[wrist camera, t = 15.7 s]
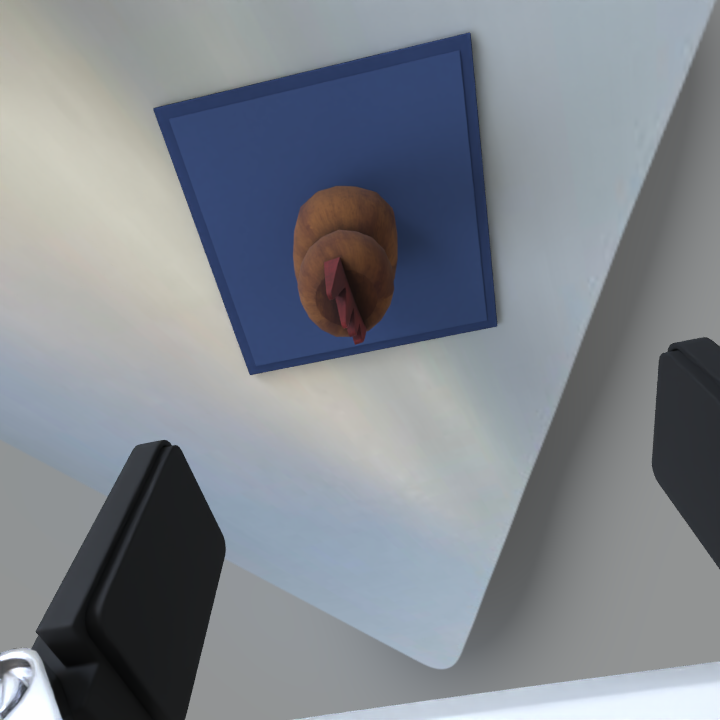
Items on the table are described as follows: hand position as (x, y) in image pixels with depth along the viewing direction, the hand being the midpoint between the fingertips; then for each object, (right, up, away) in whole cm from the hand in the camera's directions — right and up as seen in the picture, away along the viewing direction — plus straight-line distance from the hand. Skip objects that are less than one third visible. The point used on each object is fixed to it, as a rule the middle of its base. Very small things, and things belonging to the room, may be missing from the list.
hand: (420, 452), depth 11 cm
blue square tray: (-2, +10, +24) cm, 26 cm away
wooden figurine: (-2, +10, +24) cm, 26 cm away
